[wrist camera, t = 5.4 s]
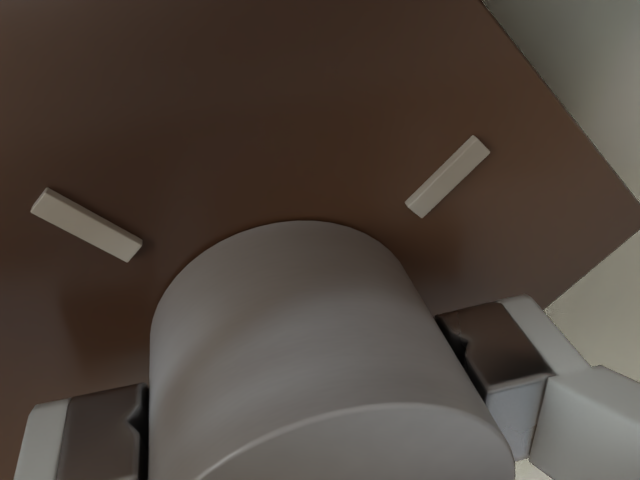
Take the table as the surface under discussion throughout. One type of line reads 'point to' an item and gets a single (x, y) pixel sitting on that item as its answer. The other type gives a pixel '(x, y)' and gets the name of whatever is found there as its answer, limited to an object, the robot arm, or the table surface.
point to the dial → (310, 368)
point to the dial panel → (269, 165)
